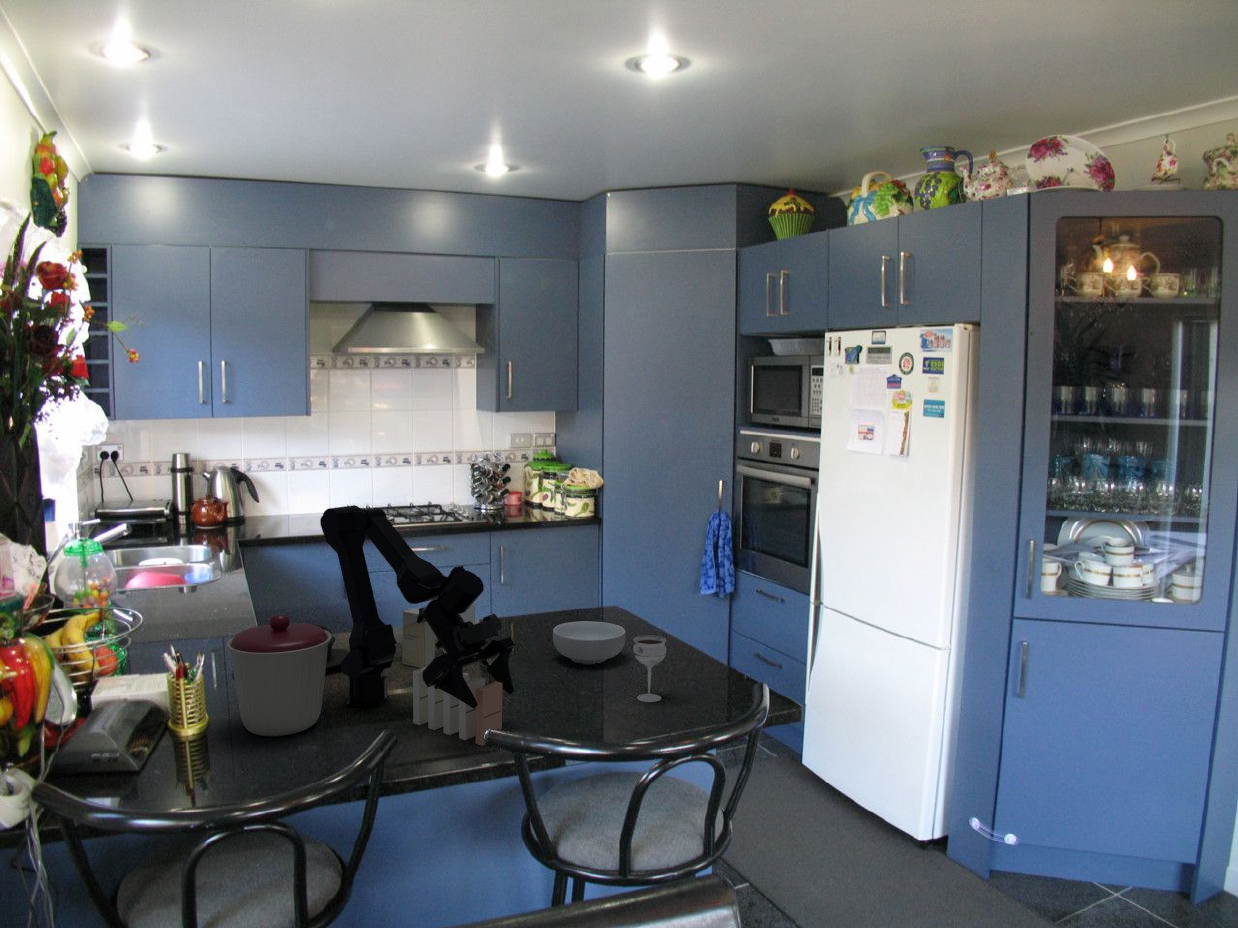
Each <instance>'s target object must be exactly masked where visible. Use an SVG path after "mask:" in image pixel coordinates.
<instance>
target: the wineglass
mask: <svg viewBox="0 0 1238 928" xmlns="http://www.w3.org/2000/svg"><path fill="white" fill-rule="evenodd" d="M633 642H634V645H633V648H632V653H633V656H634V658H635V659H636V660H637V661H638V662H639V663H640V664H642V665H644V666H645V668H647V693H642V694H639V695H638V696H636V699H637V700H638V701H640V702H645V703H655V702H659V701H661V700H662V697H661V695H658V694H655V693H651V685H652V683H651V682H652V668H653V667H655V665H656V666H657V665H658V664H660V663H661V662H662V661H663V660H664V659H665V657H666V654H667V650H668V649H667V646H666V645H665V644H666V642H667V639H666V638H665V637H663V636H658V635H651V634H650V635H649V634H648V635H639V636H636V637H634V638H633Z"/></svg>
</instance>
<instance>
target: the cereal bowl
mask: <svg viewBox="0 0 1238 928" xmlns="http://www.w3.org/2000/svg"><path fill="white" fill-rule="evenodd" d="M626 633H627V632H626V630H625V628H624V627H622V626H621V625H618V624H616V623H615V624H614V623H611V622H610V623H609V622H604V621H588V620H586V621H583V620H582V621H569V622H565V623H560V624H558V625H556V626H555V627H554V628H553V630H552V641H553V645H554V647H555V649H556V650H557V652H559V653H560V654H561V655H562V656H564V657H566V658H569V659H570V661H572V662H573V661H574V662H573V663H577V664H580V663H581V664H580V665H596V664H595V663H598V664H602V663H604V662H605V661H606V660H608V659H612V658H614V657H616V656H617V655H618V654H619V653H620V652H621V651H622V650H623V648H624V646H625V642H626ZM601 662H602V663H601Z"/></svg>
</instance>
